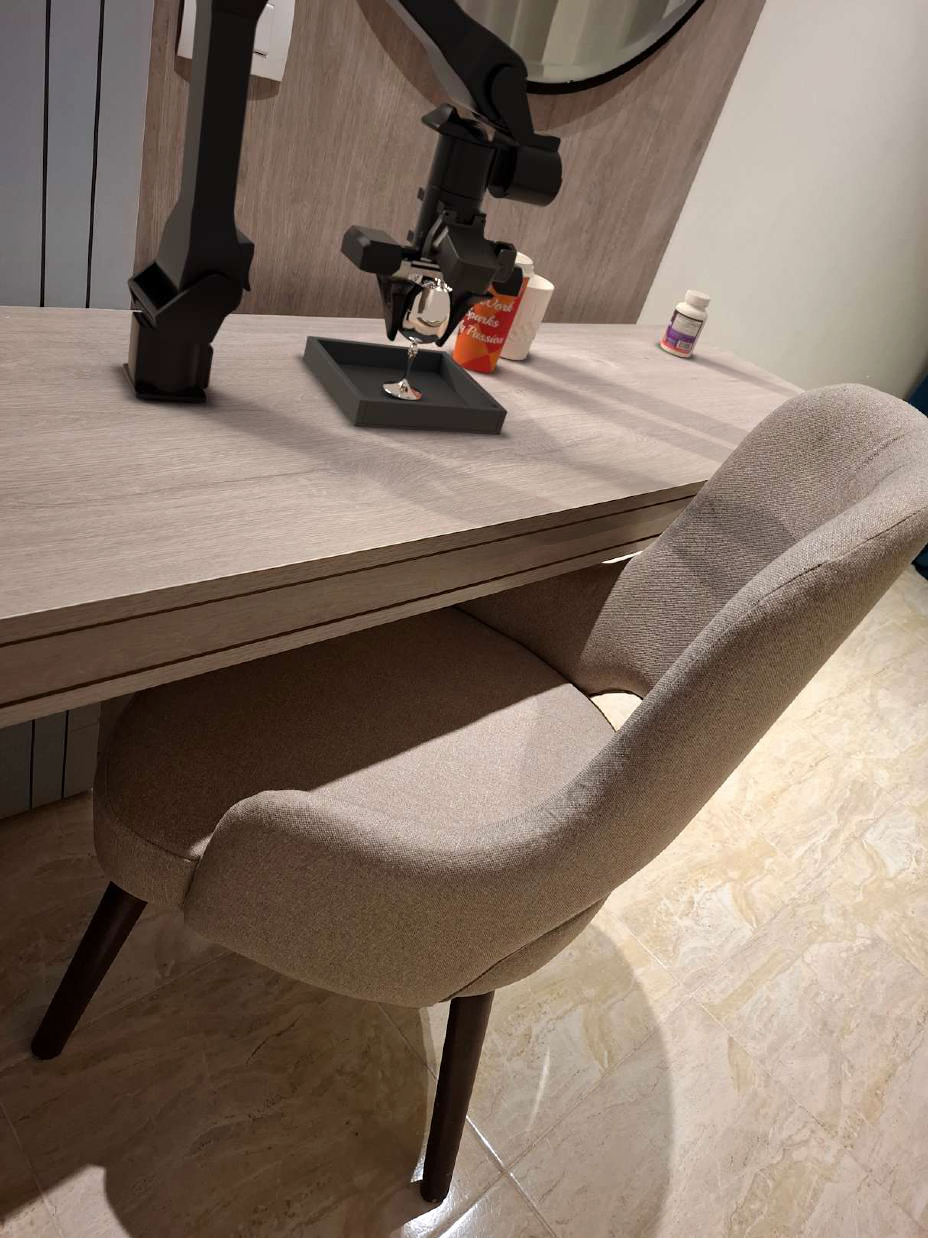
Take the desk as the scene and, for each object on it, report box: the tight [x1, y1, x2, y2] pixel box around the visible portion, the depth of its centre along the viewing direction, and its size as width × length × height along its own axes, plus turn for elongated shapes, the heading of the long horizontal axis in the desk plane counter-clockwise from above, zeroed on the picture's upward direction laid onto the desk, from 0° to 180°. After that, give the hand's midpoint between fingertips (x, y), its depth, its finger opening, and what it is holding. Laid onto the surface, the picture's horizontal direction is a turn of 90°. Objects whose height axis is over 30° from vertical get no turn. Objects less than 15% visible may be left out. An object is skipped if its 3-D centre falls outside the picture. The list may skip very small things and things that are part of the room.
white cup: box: [499, 274, 555, 361], centre depth 121 cm, size 8×8×10 cm
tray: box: [302, 335, 508, 435], centre depth 99 cm, size 18×16×3 cm
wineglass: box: [383, 273, 453, 400], centre depth 96 cm, size 6×6×12 cm
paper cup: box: [452, 251, 536, 374], centre depth 112 cm, size 8×8×14 cm
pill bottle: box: [660, 289, 712, 358], centre depth 148 cm, size 5×5×10 cm
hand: (414, 342), depth 96 cm, fingers closed on wineglass, 5 cm apart
